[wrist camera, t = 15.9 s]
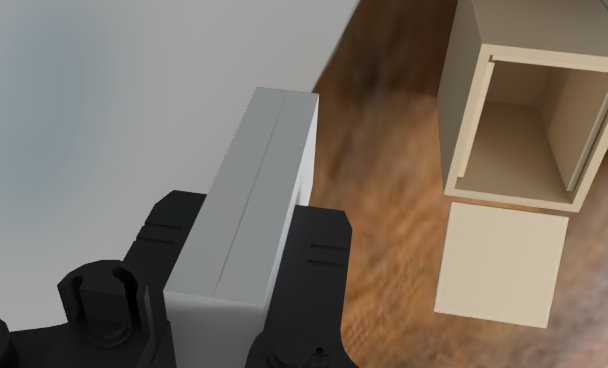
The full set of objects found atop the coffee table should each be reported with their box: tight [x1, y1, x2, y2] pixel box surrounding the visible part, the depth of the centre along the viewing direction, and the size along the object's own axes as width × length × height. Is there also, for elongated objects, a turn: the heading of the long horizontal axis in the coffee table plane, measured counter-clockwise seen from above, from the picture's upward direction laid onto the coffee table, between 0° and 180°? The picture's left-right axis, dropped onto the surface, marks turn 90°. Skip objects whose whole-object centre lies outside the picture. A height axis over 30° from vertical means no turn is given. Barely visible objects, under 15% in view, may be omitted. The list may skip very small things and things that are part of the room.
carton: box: [437, 0, 608, 212], centre depth 41 cm, size 9×11×14 cm
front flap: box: [433, 201, 569, 328], centre depth 40 cm, size 8×8×1 cm
